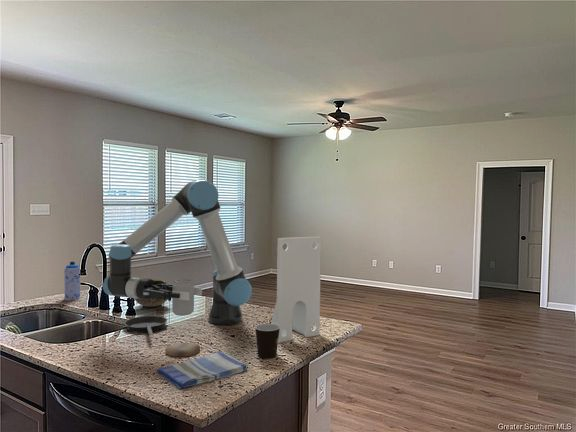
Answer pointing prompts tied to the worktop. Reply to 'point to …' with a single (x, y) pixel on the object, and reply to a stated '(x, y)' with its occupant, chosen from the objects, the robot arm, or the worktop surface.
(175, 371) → the dish towel
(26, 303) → the worktop surface
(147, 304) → the ceramic bowl
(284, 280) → the arched white panel
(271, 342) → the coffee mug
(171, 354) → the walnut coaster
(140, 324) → the frying pan
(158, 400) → the worktop surface
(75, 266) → the aerosol can
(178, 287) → the can
